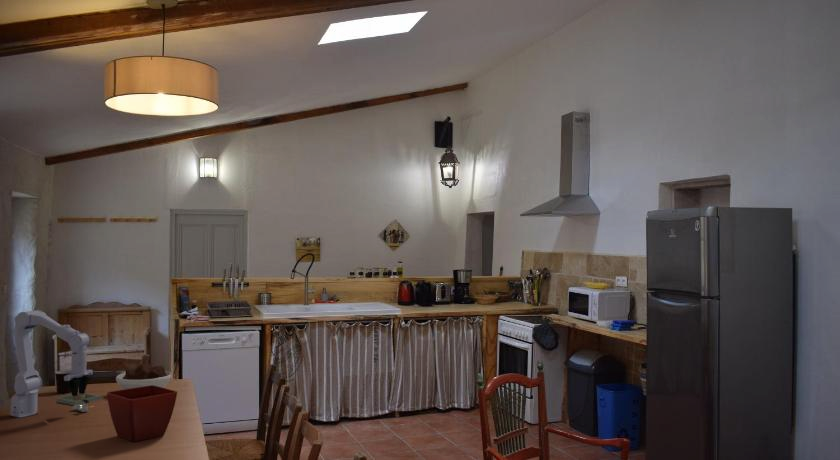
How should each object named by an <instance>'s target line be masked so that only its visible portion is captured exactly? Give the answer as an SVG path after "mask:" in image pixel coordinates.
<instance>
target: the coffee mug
mask: <svg viewBox="0 0 840 460" xmlns="http://www.w3.org/2000/svg"><path fill="white" fill-rule="evenodd" d="M70 373H71V370H69V369H68V370H58V371H55V372H54V375H55V384H56V386H55V387H56V392H57V394H59V395H66V394H72V393H71V390H70V387H69V385H68V383H67V382H66V381H64V376H66V375H68V374H70Z"/></svg>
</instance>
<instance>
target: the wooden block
mask: <svg viewBox="0 0 840 460" xmlns="http://www.w3.org/2000/svg"><path fill="white" fill-rule="evenodd" d="M85 393H86V392H85ZM85 393H84V394H79V387H78V395H77V396H73V401H78V400H83V399H85Z"/></svg>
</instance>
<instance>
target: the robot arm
mask: <svg viewBox="0 0 840 460" xmlns="http://www.w3.org/2000/svg"><path fill="white" fill-rule="evenodd" d="M13 319H14V329H13V334H14V343H15V350H16V356H17V358H16V359H17V365H18V373H17V374H16V376H15V377H14V384H13V389H14V391H15V393H16V395H14V396H12V397H11V400H10V413H9V416H12V417H16V418H19V419H20V418H24V417H29V416H33V415H38V413H37V412H38V394H39V390H40V389H41V387H42V386H43V380H42V378H41V376H40V373H39V371H37V370H36V369H35V366H34V359H33V358H34V357H33V351H32V345H31V338H30V336H31V335H30V333H31V332H32V331H33V329H34V328H36V327H37V326H43V327H45V328H47V329H49V330H51V331H53V332H55V334H56V337H58V338H60V339H61V340H63V341H64V342H66V343H68V346H69V347H70V352H71V363H70V366H71V368H70V369H71V373H70V374H68V375H66V376H64V381H66V382H67V383H68V385H69V387H70V390H71V393H70V394H71V395H72V396H77V395H78V387H79V394H84V393H86V390H87V387H88V384H89V382H90V380H91V379H92V377H91V375H93V373H94V371H93V369H87V364H88V362H87V360H88V359H87V357H88V354H87V353H88V345H90V341H91V337H90V336H89V334H87V332H80V331H79V330H76V329H74V328H72V327H71V325H70V324H60V323H58V322H57V321H55V320H54V319H52V318H51V317H49V315H47V314H46V312H43V311H42V310H40V309H35V310H31V311H30V310H29V311H21V312H19V313H18V314H17V315H16V316H15V317H14V318H13Z"/></svg>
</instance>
